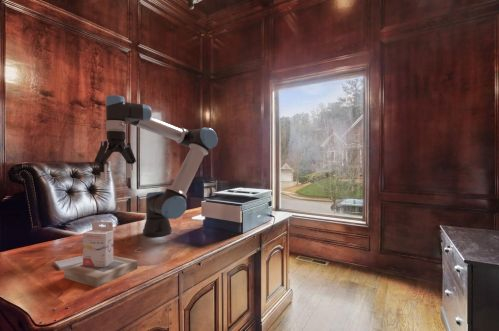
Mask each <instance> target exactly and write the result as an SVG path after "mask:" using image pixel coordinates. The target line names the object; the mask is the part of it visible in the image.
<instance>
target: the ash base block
mask: <svg viewBox="0 0 499 331" xmlns="http://www.w3.org/2000/svg"><path fill="white" fill-rule="evenodd" d="M137 269H138V260H136V259H132V258H128V257H127V258H126V257H121V256H116V255H113V262H112V263H111V264H109V265H108V266H106V267H94V266H83V263H81V264H78V265H76V266H73V267H70V268H67V269H63V271H64V272H63V273H64V274H63V277H64V279H65V280H68V281H69V280H70V281H72V282H77V283H81V284H84V285H87V286H91V287H95V288H99V287H101V286H103V285H105V284H108V283H109V282H111V281H114V280H117V279H118V278H120V277H122V276H124V275H126V274H129V273H131V272H133V271H135V270H137Z"/></svg>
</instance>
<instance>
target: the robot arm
mask: <svg viewBox="0 0 499 331" xmlns="http://www.w3.org/2000/svg"><path fill="white" fill-rule="evenodd" d="M152 111H153V110H152V107H151V106H149V105H147V104H142V103H135V102H128V101H126V99H125V97H124V96H121V95H117V94H110V95H107V96H106V98H105V114H106V115H105V116H106V117H105V118H106V120H105V122H106V123H105V124H106V127H105V128H106V129H105V130H106V140H101V141H100V147H99V149H98V151H97V153H96V156H95V158H94V160H93V161H94V162H93V163H94V164H97V165H98V171H99V173H100V181H107V180H108V176H107V175H108V171H107V166H108V165H107V164H106V163H107V161H108V160H109V159H110V157H111V155H112V154H113V153H118V154H121V156H122V157H123V159H124V161H125V162H126V163H125V171H126V172H125V175H126V176H125V178H128V179H131V178H133V169H134V168H133V164H135V163H137V160H136V157H135V153H134V152H133V149H132V148H131V147H132V146H131V143H130V142H125V140H126V132H125V131H126V124H128V125H132V126H134V127H137V128H139V129H140V128H141V129H142V130H145V131H147V132H151V133H153V134H157V135H159V136H162V137H165V138H167V139H170V140H173V141H175V142H176V144H180V146H181V145H182V146H184V147H186V148H189V151H188V152H187V154H186V156H185V159H184V160H183V162H182V165H181V166H180V168H179V170H178V172H177V174H176V176H175V178H174V180H173V181H172V184H171V185H170V187H167V188H166V189H165V190H163V191H162V190H161V191H152V192H147V193H146V195H145V197H146V198H145V207H146V209H145V212H146V213H145V214H146V216H145V223H144V226H143V229H142V235H143V236H144V237H148V238H151V237H153V238H154V237H155V238H156V237H163V236H168V235H170V234H172V233H171V232H173V229H172V226H171V223H170V220H176V219H178V218H180V217H182V216H183V215H184V214H185V212H186V210H187V206H188V205H187V199H188V196H187V192H188V190H189V188H190V186H191V184H192V182H193V181H194V178H195V176H196V173H197V172H198V169H199V167H200V166H201V163H202V161H203V159H204V157H205V156H207V155H209V153H210V151H211V149H214V148H216V147H217V145H218V141H219V138H218V136H217V133H216V131H215V130H214V129H213V128H211V127H202V128H197V129H195V128H194V129H187V128H185V127H181V128H180V127H177V126H176V125H173V124H170V123H169V122H168V123H167V122H165V121H164V120H163V121H162V120H160V119H158V118H155V117H153V116H152V115H153V114H152V113H153V112H152ZM169 233H170V234H169ZM167 234H168V235H167Z"/></svg>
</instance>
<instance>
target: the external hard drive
mask: <svg viewBox="0 0 499 331" xmlns="http://www.w3.org/2000/svg"><path fill="white" fill-rule="evenodd" d="M81 263H83V254H82V255H78V256H75V257H71V258H65V259H61V260H57V261H53V264H54V266H55V267H56V268H57V269H58V270H59V271H64V269H67V268H70V267H73V266H76V265H78V264H81Z"/></svg>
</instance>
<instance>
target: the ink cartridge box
mask: <svg viewBox="0 0 499 331" xmlns="http://www.w3.org/2000/svg"><path fill="white" fill-rule="evenodd" d="M101 225H104V226H101ZM113 225H114V224H113V222H112V221H91V229H90V230H87V231H85V232H83V233H82V255H83V266H94V267H106V266H108V265H109V264H111V263H112V262H113V256H114V226H113Z"/></svg>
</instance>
